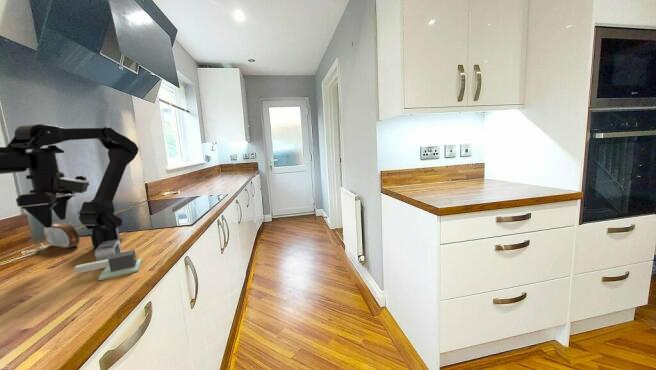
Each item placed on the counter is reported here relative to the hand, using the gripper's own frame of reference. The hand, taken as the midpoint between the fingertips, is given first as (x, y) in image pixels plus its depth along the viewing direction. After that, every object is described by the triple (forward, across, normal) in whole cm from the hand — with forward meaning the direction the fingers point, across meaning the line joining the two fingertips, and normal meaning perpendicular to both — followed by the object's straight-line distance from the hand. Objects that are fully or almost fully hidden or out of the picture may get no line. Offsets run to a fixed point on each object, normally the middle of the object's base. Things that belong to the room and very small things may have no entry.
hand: (56, 223), depth 74 cm
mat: (+12, -17, -16) cm, 27 cm away
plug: (+11, -17, -14) cm, 25 cm away
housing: (+12, -7, -12) cm, 18 cm away
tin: (+12, +18, +6) cm, 23 cm away
